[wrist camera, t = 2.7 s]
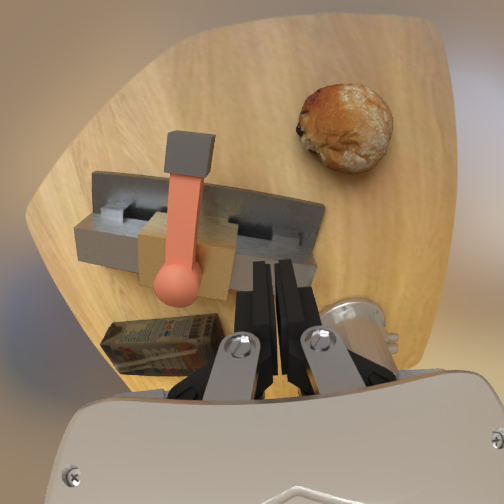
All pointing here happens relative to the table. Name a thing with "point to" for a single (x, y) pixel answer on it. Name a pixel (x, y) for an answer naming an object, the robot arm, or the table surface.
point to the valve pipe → (209, 232)
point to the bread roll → (346, 127)
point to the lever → (183, 216)
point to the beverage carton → (163, 345)
